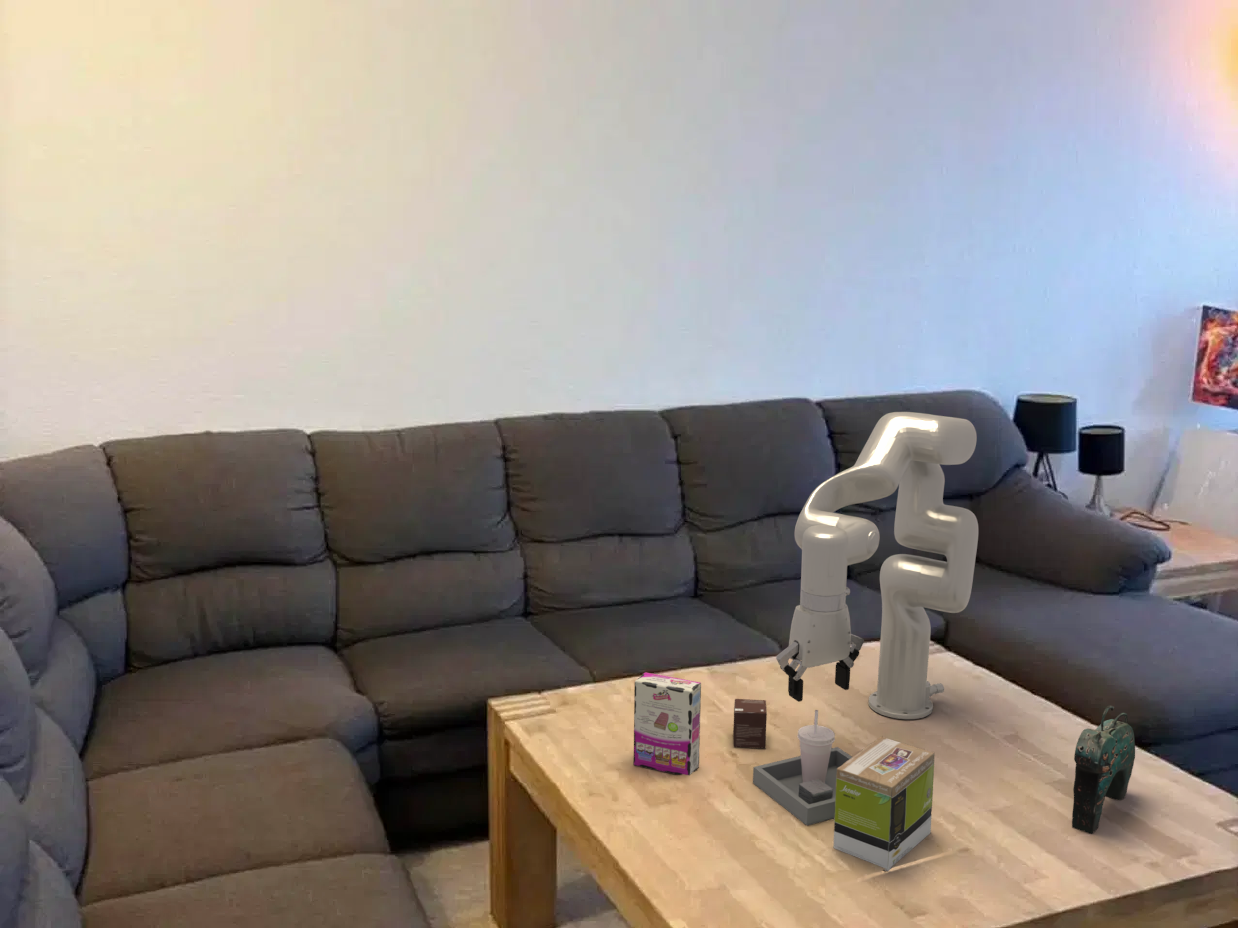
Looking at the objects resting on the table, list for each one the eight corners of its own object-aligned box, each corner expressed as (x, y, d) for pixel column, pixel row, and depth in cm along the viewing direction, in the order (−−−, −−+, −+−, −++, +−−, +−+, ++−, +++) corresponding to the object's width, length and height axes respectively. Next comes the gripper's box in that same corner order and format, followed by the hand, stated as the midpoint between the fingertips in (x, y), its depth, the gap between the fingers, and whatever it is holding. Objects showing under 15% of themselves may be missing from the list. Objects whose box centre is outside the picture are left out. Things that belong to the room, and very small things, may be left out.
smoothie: (789, 787, 216) (793, 712, 212) (802, 771, 221) (806, 698, 218) (825, 796, 213) (829, 720, 209) (837, 780, 218) (841, 706, 215)
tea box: (876, 815, 208) (881, 733, 205) (931, 835, 202) (938, 751, 198) (830, 851, 197) (835, 765, 193) (888, 874, 190) (894, 785, 187)
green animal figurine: (1094, 841, 201) (1108, 726, 196) (1055, 827, 205) (1067, 714, 200) (1137, 796, 216) (1150, 688, 211) (1100, 784, 220) (1112, 678, 215)
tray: (836, 765, 225) (837, 746, 224) (893, 804, 211) (895, 785, 210) (752, 785, 217) (753, 766, 216) (806, 828, 203) (807, 808, 202)
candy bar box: (700, 766, 224) (702, 681, 220) (689, 778, 219) (692, 691, 216) (643, 753, 228) (645, 670, 225) (631, 765, 224) (633, 680, 220)
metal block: (817, 800, 211) (818, 778, 210) (831, 810, 208) (833, 789, 207) (797, 805, 209) (799, 783, 209) (812, 816, 206) (813, 794, 205)
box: (765, 735, 237) (766, 699, 235) (765, 749, 231) (767, 713, 229) (733, 733, 237) (734, 697, 236) (732, 747, 231) (734, 711, 230)
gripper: (850, 583, 216) (846, 674, 220) (767, 600, 208) (764, 694, 213) (878, 597, 210) (873, 690, 214) (793, 615, 202) (789, 711, 206)
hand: (818, 692), depth 213 cm, fingers open, 9 cm apart
